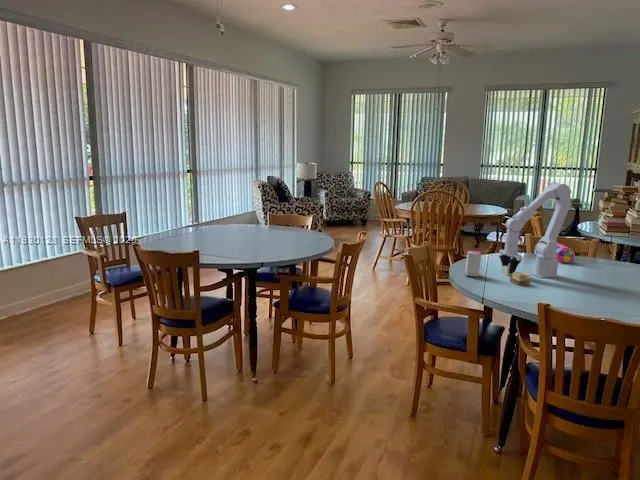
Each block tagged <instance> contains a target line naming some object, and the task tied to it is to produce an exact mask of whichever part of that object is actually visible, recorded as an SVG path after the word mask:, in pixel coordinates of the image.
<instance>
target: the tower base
mask: <svg viewBox="0 0 640 480" xmlns="http://www.w3.org/2000/svg"><path fill="white" fill-rule="evenodd" d="M509 283H511V284H513V285H516V286H517V287H518V286H519V287H520V286H530V284H531V280H530V279H529V280H526V281H518V280H516V279H514V278H512V276H509Z"/></svg>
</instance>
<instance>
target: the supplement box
mask: <svg viewBox="0 0 640 480" xmlns="http://www.w3.org/2000/svg"><path fill="white" fill-rule="evenodd" d="M466 253H467V254H466V260H465V261H466V263H465V267H464V268H465V269H464V270H465V271H464V275H465V278H477V279H478V278H479V275H480V267H481V257H482V253H481V251H477V250H467V251H466Z"/></svg>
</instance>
